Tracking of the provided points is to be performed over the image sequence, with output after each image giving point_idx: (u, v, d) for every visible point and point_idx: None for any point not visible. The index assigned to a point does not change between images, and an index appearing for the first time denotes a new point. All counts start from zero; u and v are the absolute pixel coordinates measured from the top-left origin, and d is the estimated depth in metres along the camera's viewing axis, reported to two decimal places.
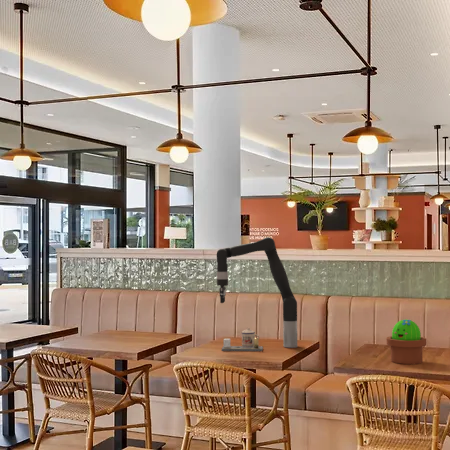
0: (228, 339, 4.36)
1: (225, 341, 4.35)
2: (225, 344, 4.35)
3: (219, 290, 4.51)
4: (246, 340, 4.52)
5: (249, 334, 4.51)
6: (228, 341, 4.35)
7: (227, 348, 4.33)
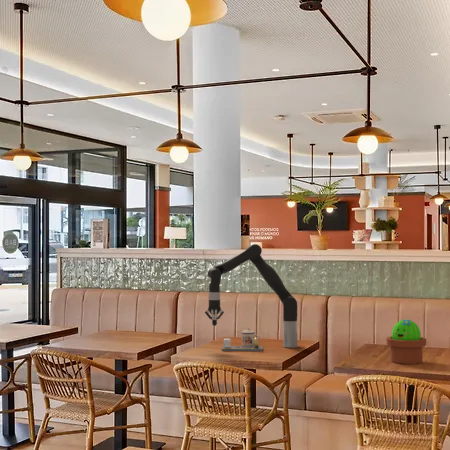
0: (228, 339, 4.36)
1: (225, 341, 4.35)
2: (225, 344, 4.35)
3: (216, 311, 4.37)
4: (246, 340, 4.52)
5: (249, 334, 4.51)
6: (228, 341, 4.35)
7: (227, 348, 4.33)
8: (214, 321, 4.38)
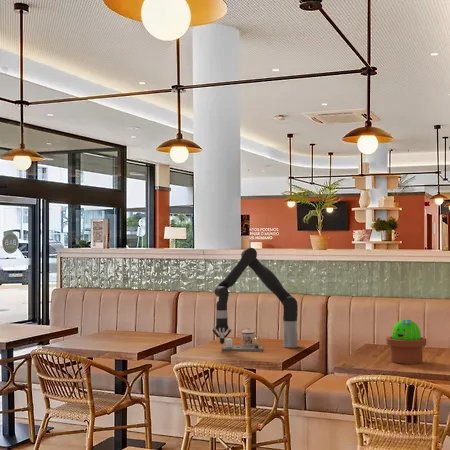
0: (230, 339, 4.36)
1: (227, 341, 4.35)
2: (227, 344, 4.35)
3: (223, 330, 4.36)
4: (246, 340, 4.52)
5: (249, 334, 4.51)
6: (230, 341, 4.35)
7: (227, 348, 4.33)
8: (222, 339, 4.37)
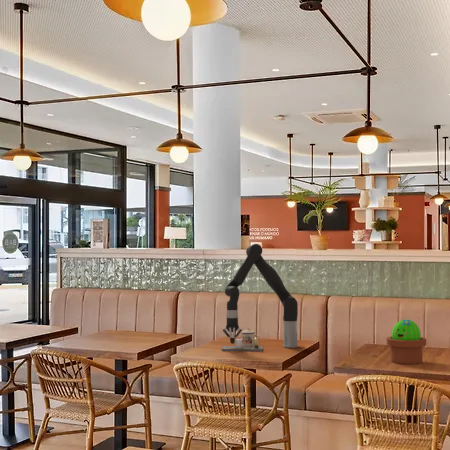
0: (240, 339, 4.36)
1: (237, 341, 4.34)
2: (237, 344, 4.34)
3: (234, 329, 4.35)
4: (246, 340, 4.52)
5: (249, 334, 4.51)
6: (240, 341, 4.34)
7: (227, 348, 4.33)
8: (232, 339, 4.36)
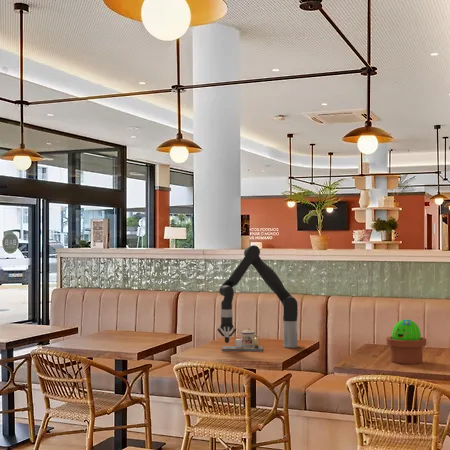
0: (240, 339, 4.36)
1: (237, 341, 4.34)
2: (237, 344, 4.34)
3: (228, 329, 4.36)
4: (246, 340, 4.52)
5: (249, 334, 4.51)
6: (240, 341, 4.34)
7: (227, 348, 4.33)
8: (226, 338, 4.37)
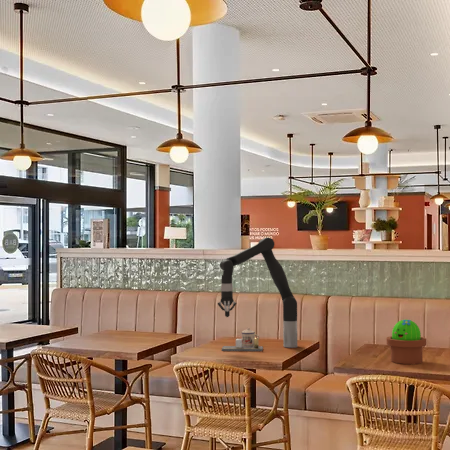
0: (240, 339, 4.36)
1: (237, 341, 4.34)
2: (237, 344, 4.34)
3: (228, 303, 4.37)
4: (246, 340, 4.52)
5: (249, 334, 4.51)
6: (240, 341, 4.34)
7: (227, 348, 4.33)
8: (227, 312, 4.38)
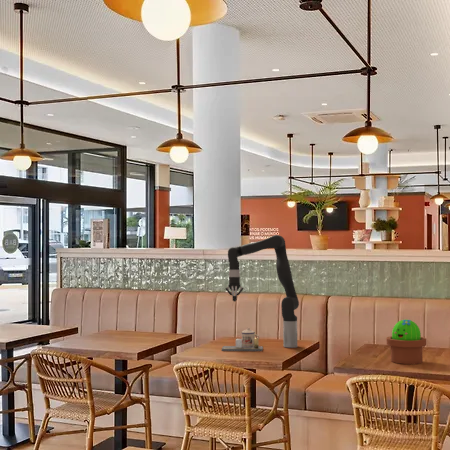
0: (240, 339, 4.36)
1: (237, 341, 4.34)
2: (237, 344, 4.34)
3: (236, 288, 4.62)
4: (246, 340, 4.52)
5: (249, 334, 4.51)
6: (240, 341, 4.34)
7: (227, 348, 4.33)
8: (234, 297, 4.63)
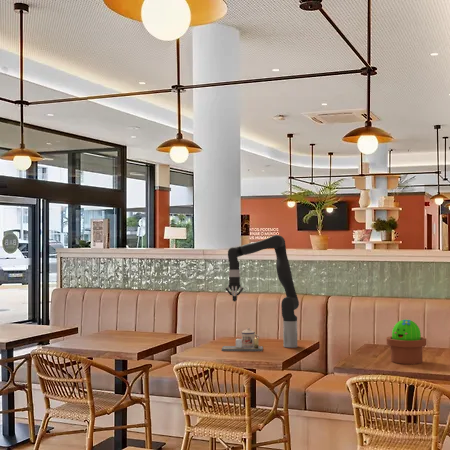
0: (240, 339, 4.36)
1: (237, 341, 4.34)
2: (237, 344, 4.34)
3: (236, 288, 4.62)
4: (246, 340, 4.52)
5: (249, 334, 4.51)
6: (240, 341, 4.34)
7: (227, 348, 4.33)
8: (234, 297, 4.63)
